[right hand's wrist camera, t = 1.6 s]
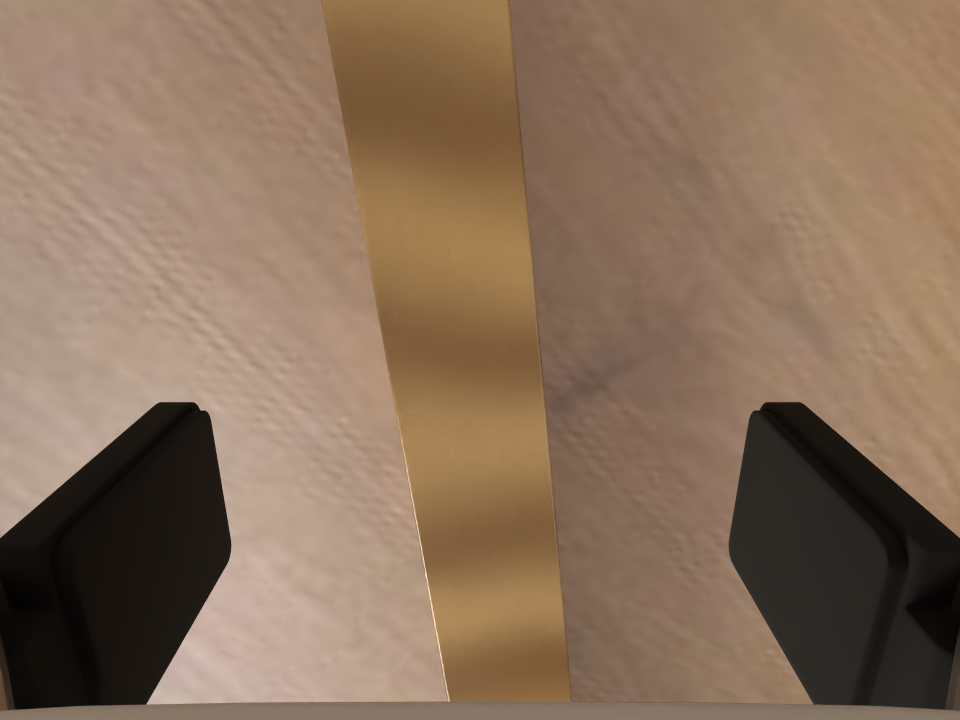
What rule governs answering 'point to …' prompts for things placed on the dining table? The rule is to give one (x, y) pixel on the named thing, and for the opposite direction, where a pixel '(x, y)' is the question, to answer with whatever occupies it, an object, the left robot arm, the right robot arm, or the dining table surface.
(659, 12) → the dining table surface
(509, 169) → the bar
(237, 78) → the dining table surface
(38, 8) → the dining table surface
